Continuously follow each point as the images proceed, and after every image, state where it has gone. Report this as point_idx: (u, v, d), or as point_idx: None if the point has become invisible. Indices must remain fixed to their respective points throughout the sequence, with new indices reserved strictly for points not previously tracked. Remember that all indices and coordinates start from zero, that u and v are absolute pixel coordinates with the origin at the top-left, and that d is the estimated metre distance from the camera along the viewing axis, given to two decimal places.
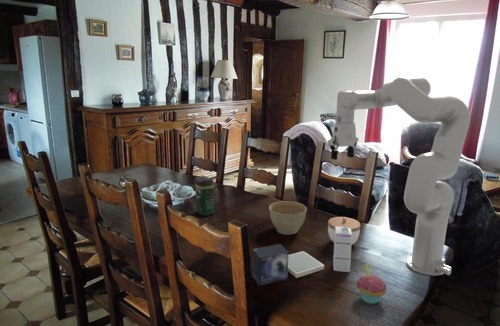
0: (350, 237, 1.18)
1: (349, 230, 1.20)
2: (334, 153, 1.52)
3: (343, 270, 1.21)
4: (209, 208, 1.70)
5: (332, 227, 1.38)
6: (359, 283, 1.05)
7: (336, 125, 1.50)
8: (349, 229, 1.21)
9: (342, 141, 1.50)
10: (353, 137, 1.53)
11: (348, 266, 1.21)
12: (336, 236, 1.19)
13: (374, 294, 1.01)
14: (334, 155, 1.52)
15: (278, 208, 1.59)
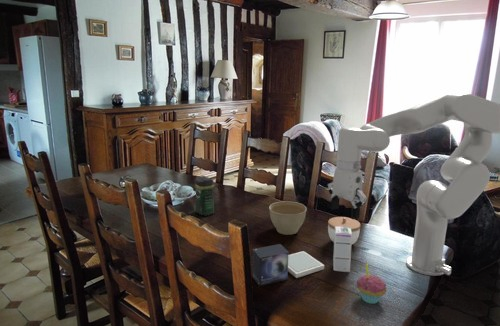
0: (350, 237, 1.18)
1: (349, 230, 1.21)
2: None
3: (343, 270, 1.21)
4: (209, 208, 1.70)
5: (332, 227, 1.38)
6: (359, 283, 1.05)
7: (357, 174, 1.12)
8: (349, 229, 1.21)
9: None
10: None
11: (348, 266, 1.21)
12: (336, 236, 1.19)
13: (374, 294, 1.01)
14: None
15: (278, 208, 1.59)
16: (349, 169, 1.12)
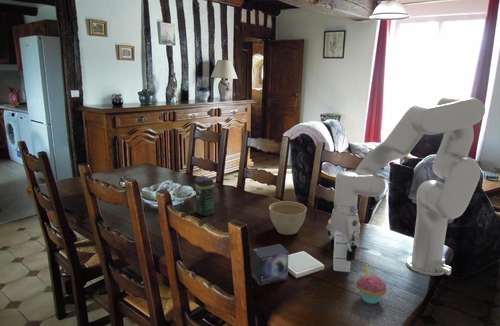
0: None
1: None
2: None
3: (343, 270, 1.21)
4: (209, 208, 1.70)
5: None
6: (359, 283, 1.05)
7: (354, 218, 1.16)
8: None
9: None
10: None
11: (348, 266, 1.21)
12: (336, 236, 1.19)
13: (374, 294, 1.01)
14: None
15: (278, 208, 1.59)
16: (346, 213, 1.16)
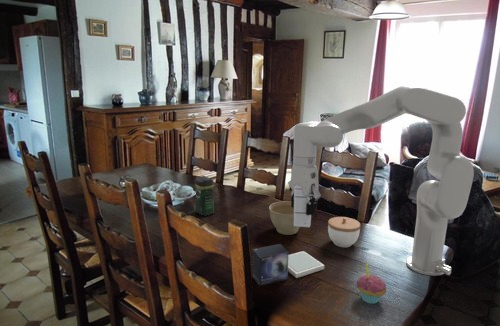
0: None
1: None
2: (313, 206, 1.16)
3: (303, 225, 1.19)
4: (209, 208, 1.70)
5: (332, 227, 1.38)
6: (359, 283, 1.05)
7: (312, 170, 1.13)
8: None
9: None
10: None
11: (308, 220, 1.18)
12: (295, 189, 1.16)
13: (374, 294, 1.01)
14: (313, 209, 1.16)
15: (278, 208, 1.59)
16: (304, 165, 1.13)
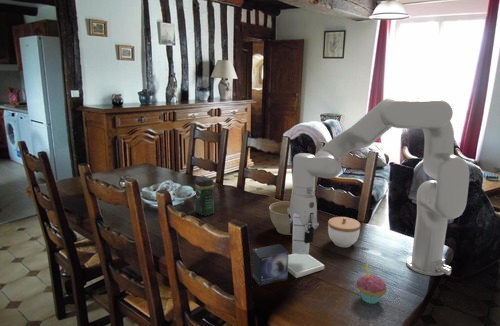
0: None
1: None
2: None
3: (302, 252, 1.21)
4: (209, 208, 1.70)
5: (332, 227, 1.38)
6: (359, 283, 1.05)
7: (311, 200, 1.15)
8: None
9: None
10: None
11: (306, 248, 1.20)
12: (294, 218, 1.19)
13: (374, 294, 1.01)
14: None
15: (278, 208, 1.59)
16: (303, 194, 1.15)
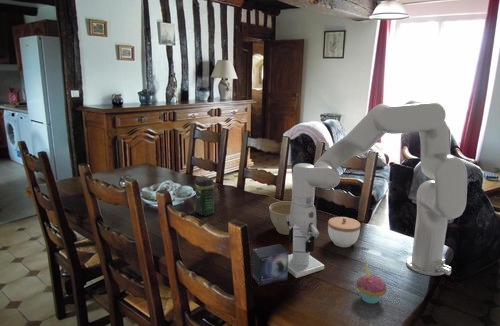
0: (308, 231, 1.19)
1: None
2: None
3: (302, 264, 1.22)
4: (209, 208, 1.70)
5: (332, 227, 1.38)
6: (359, 283, 1.05)
7: (310, 210, 1.16)
8: None
9: None
10: None
11: (307, 259, 1.21)
12: (294, 230, 1.20)
13: (374, 294, 1.01)
14: (312, 246, 1.19)
15: (278, 208, 1.59)
16: (302, 205, 1.16)
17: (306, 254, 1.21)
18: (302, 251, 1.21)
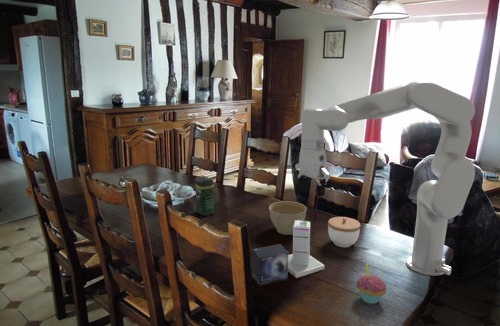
0: (308, 231, 1.19)
1: (308, 224, 1.21)
2: (323, 187, 1.19)
3: (302, 264, 1.22)
4: (209, 208, 1.70)
5: (332, 227, 1.38)
6: (359, 283, 1.05)
7: (320, 153, 1.17)
8: (307, 223, 1.22)
9: None
10: None
11: (307, 259, 1.21)
12: (294, 230, 1.20)
13: (374, 294, 1.01)
14: (323, 190, 1.20)
15: (278, 208, 1.59)
16: (312, 148, 1.17)
17: (306, 254, 1.21)
18: (302, 251, 1.21)
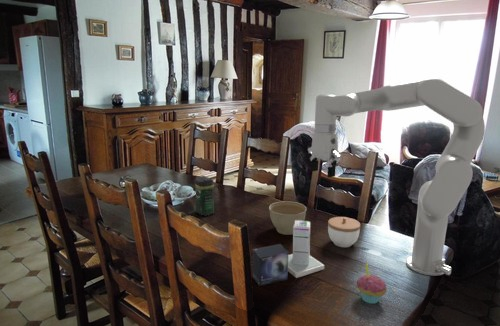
0: (308, 231, 1.19)
1: (308, 224, 1.21)
2: None
3: (302, 264, 1.22)
4: (209, 208, 1.70)
5: (332, 227, 1.38)
6: (359, 283, 1.05)
7: (332, 136, 1.25)
8: (307, 223, 1.22)
9: None
10: None
11: (307, 259, 1.21)
12: (294, 230, 1.20)
13: (374, 294, 1.01)
14: None
15: (278, 208, 1.59)
16: (325, 131, 1.25)
17: (306, 254, 1.21)
18: (302, 251, 1.21)
